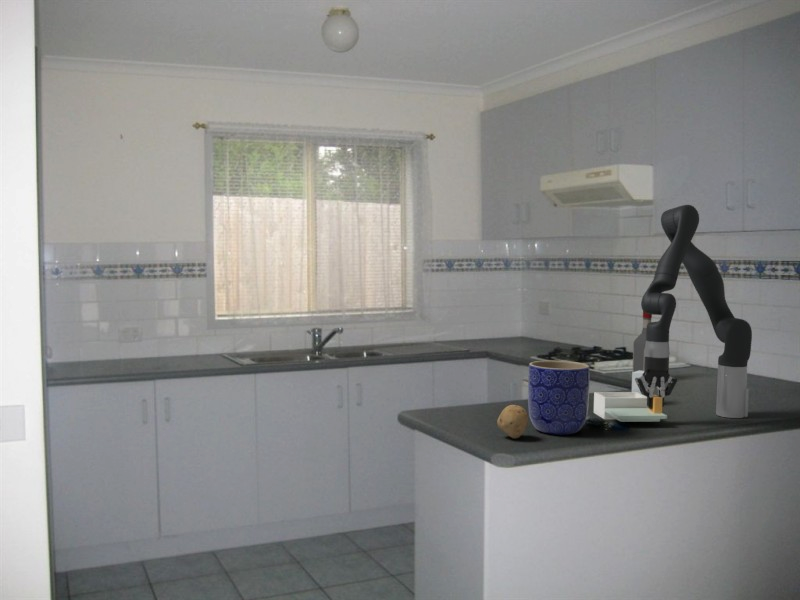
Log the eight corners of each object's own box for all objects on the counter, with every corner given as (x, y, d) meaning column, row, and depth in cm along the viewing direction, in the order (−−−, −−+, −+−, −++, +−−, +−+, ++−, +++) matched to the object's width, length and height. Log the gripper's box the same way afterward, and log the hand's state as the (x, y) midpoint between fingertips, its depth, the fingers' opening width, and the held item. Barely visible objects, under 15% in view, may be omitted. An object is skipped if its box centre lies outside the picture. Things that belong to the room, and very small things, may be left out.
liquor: (660, 381, 357) (663, 310, 355) (646, 383, 352) (649, 311, 349) (643, 378, 364) (646, 309, 362) (629, 380, 359) (631, 309, 357)
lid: (652, 414, 279) (652, 392, 278) (666, 422, 267) (667, 399, 266) (604, 414, 277) (605, 393, 277) (617, 422, 265) (618, 400, 265)
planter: (554, 422, 273) (556, 358, 272) (600, 432, 259) (602, 365, 258) (514, 429, 262) (516, 363, 260) (560, 440, 248) (562, 370, 246)
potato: (493, 440, 247) (494, 406, 247) (501, 433, 256) (502, 400, 255) (524, 443, 244) (525, 408, 244) (531, 436, 253) (531, 403, 252)
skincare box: (637, 402, 309) (638, 370, 308) (648, 404, 306) (650, 371, 305) (630, 405, 304) (631, 372, 303) (641, 406, 301) (643, 373, 301)
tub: (636, 412, 291) (636, 392, 291) (648, 419, 280) (649, 398, 280) (593, 412, 290) (594, 392, 289) (604, 419, 279) (605, 398, 278)
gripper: (673, 353, 275) (671, 406, 277) (631, 353, 274) (629, 406, 275) (682, 356, 268) (680, 410, 269) (640, 356, 267) (638, 411, 268)
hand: (655, 408), depth 272 cm, fingers closed on lid, 2 cm apart
